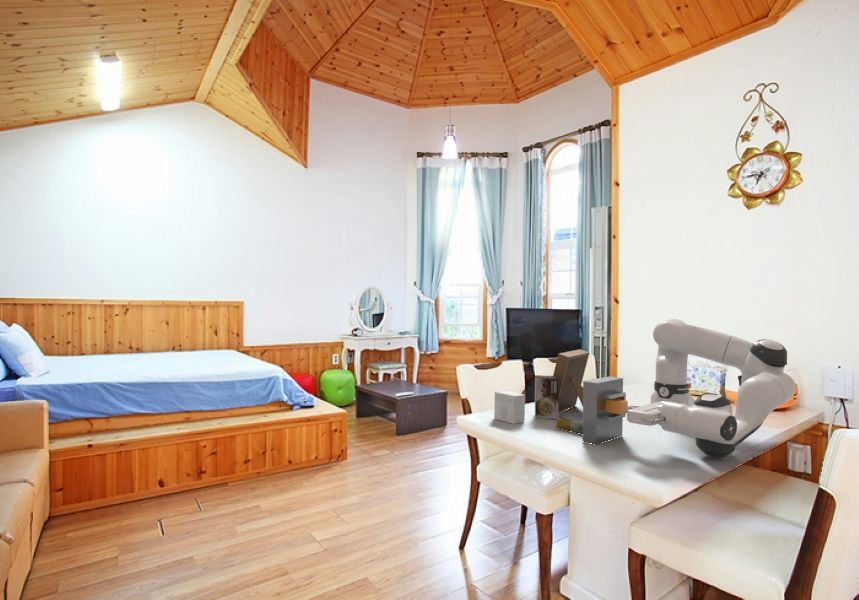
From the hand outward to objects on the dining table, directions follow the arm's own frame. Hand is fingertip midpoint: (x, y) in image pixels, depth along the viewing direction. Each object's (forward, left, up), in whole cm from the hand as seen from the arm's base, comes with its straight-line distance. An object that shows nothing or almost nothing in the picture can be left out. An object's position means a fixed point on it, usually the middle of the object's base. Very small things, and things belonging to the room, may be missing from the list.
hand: (628, 408), depth 155 cm
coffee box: (-9, -39, -12) cm, 42 cm away
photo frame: (-25, -38, -12) cm, 47 cm away
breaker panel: (0, -7, -12) cm, 14 cm away
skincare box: (+6, -45, -12) cm, 47 cm away
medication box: (0, -21, -13) cm, 24 cm away
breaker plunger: (0, -6, -2) cm, 6 cm away
